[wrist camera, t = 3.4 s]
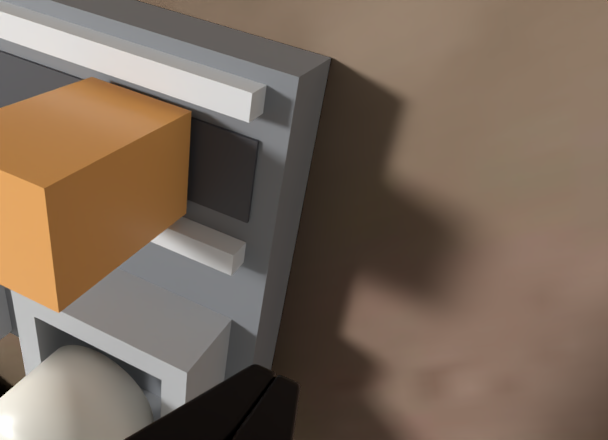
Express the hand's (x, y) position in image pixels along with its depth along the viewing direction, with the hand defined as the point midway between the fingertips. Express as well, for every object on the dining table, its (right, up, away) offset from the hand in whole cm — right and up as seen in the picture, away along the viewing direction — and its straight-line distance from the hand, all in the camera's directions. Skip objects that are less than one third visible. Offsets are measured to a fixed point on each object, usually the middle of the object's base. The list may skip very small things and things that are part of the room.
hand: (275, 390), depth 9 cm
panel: (-6, +3, +10) cm, 13 cm away
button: (-6, -3, +8) cm, 11 cm away
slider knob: (-4, +5, +6) cm, 8 cm away
